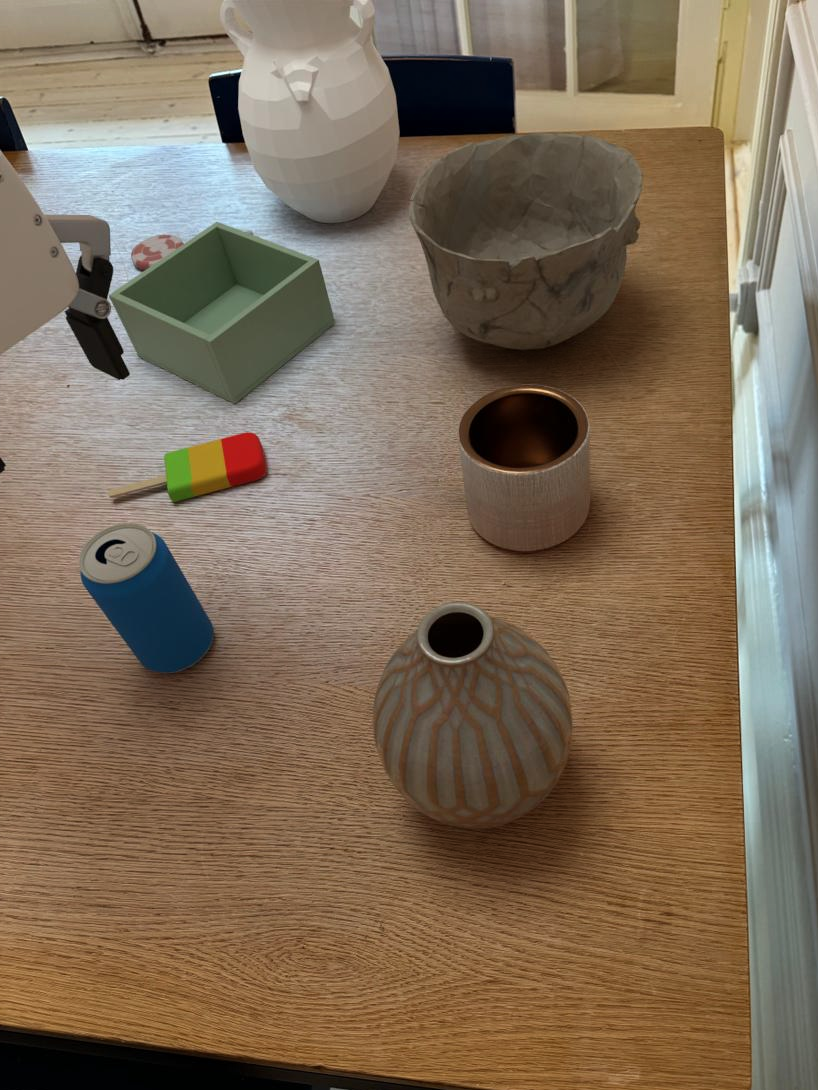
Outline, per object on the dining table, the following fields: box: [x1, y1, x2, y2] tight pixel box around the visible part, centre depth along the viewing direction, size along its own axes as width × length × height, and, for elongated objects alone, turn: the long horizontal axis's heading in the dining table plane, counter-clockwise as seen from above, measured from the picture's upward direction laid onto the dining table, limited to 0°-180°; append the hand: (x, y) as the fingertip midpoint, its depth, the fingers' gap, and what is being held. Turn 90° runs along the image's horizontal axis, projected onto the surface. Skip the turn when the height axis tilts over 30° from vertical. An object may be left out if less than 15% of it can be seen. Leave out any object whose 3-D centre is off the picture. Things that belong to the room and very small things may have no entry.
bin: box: [108, 221, 336, 405], centre depth 94 cm, size 16×16×8 cm
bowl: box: [408, 132, 644, 351], centre depth 88 cm, size 22×22×15 cm
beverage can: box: [78, 522, 215, 674], centre depth 68 cm, size 6×6×12 cm
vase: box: [372, 601, 574, 830], centre depth 57 cm, size 13×13×18 cm
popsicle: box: [107, 431, 267, 503], centre depth 84 cm, size 6×15×2 cm, turn 106°
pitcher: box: [219, 0, 401, 224], centre depth 102 cm, size 19×18×25 cm
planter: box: [456, 383, 591, 552], centre depth 75 cm, size 11×11×10 cm
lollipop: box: [130, 230, 254, 271], centre depth 108 cm, size 7×1×15 cm
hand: (52, 415), depth 54 cm, fingers open, 9 cm apart
